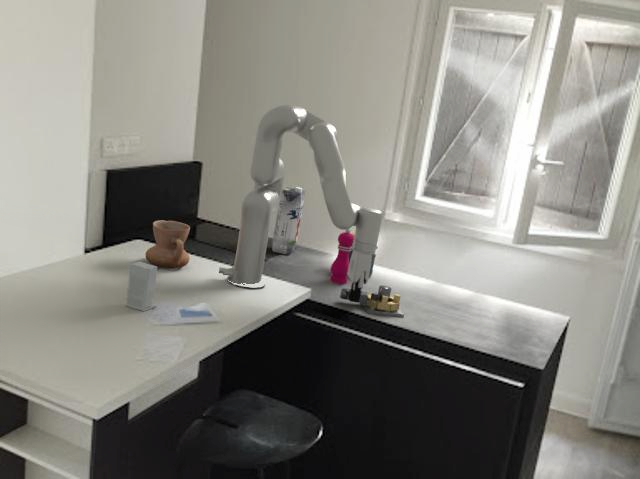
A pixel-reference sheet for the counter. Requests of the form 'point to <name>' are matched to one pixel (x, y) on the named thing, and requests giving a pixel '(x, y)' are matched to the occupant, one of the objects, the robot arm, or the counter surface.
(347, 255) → the pepper mill
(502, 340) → the counter surface
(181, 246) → the ceramic jug
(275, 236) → the juice carton
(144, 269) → the skincare box
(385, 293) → the grey mounting base
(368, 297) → the yellow mechanical assembly
